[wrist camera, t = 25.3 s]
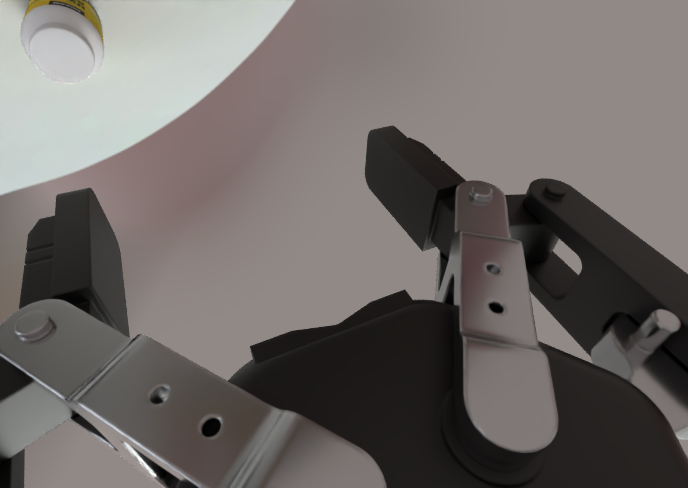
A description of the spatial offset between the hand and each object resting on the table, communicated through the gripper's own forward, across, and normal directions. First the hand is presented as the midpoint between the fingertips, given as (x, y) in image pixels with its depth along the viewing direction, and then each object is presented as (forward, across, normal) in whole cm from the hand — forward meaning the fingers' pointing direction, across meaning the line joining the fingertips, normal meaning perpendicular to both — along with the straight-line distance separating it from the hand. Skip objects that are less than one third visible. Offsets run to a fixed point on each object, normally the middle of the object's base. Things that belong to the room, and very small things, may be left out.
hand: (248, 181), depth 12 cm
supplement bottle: (+36, +7, +4) cm, 37 cm away
